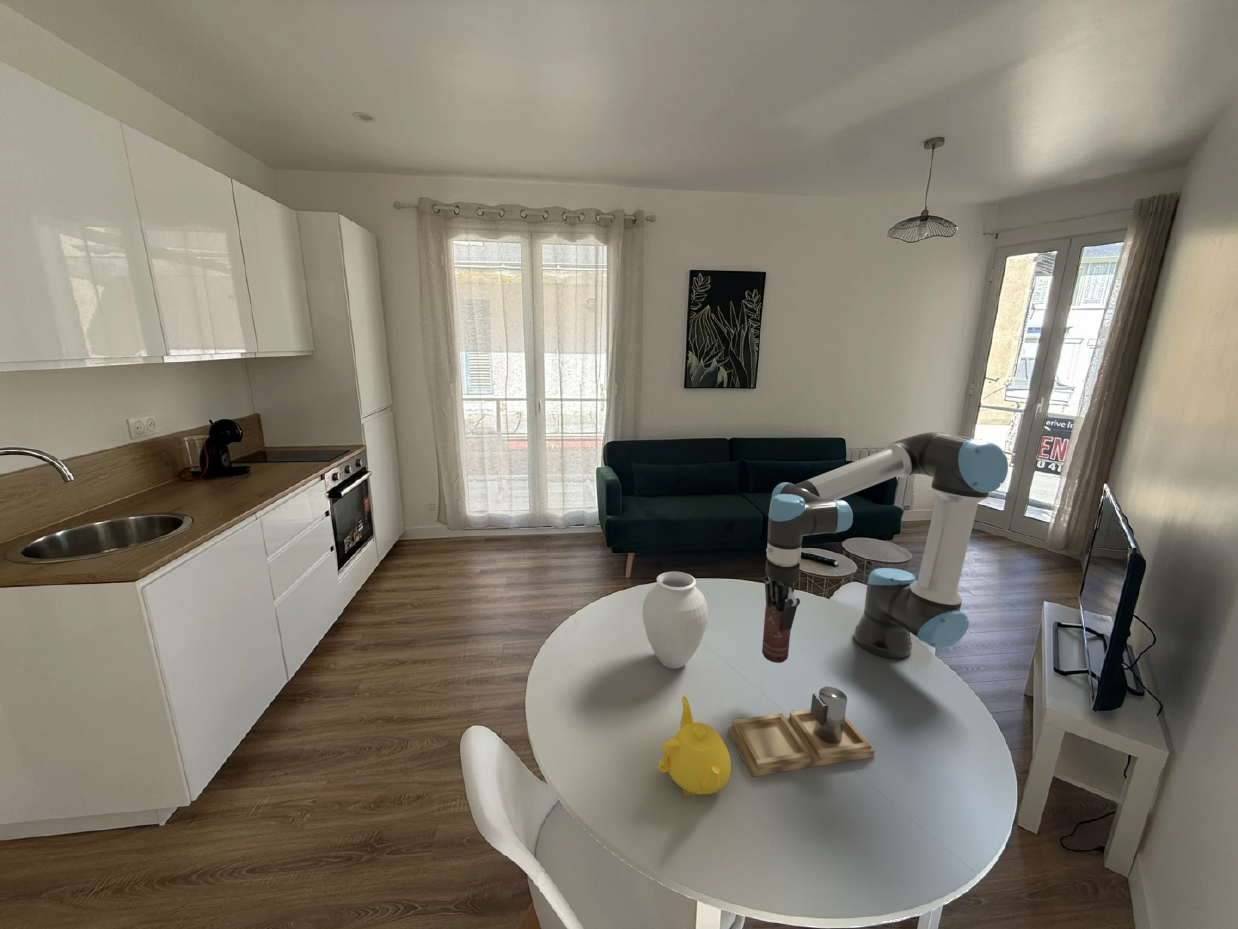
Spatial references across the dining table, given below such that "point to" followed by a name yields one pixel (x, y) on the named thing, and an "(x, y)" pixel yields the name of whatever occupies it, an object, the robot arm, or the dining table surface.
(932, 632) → the robot arm
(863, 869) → the dining table surface
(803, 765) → the tray
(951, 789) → the dining table surface
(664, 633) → the vase
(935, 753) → the dining table surface
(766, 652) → the can
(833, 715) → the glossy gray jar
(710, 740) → the teapot
